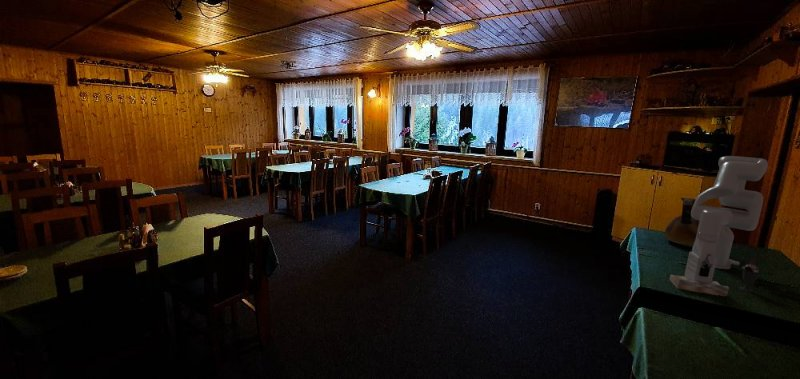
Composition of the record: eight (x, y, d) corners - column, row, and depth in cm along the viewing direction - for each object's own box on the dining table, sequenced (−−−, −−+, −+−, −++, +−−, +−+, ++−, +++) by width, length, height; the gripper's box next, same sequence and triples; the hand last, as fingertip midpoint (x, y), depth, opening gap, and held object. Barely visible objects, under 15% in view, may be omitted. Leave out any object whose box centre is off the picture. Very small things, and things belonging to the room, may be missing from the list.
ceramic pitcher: (704, 244, 216) (714, 198, 209) (702, 253, 201) (713, 204, 195) (665, 236, 229) (674, 193, 222) (661, 244, 214) (670, 198, 208)
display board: (715, 286, 160) (717, 277, 159) (726, 296, 151) (729, 287, 150) (669, 279, 166) (671, 270, 166) (677, 288, 157) (679, 279, 156)
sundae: (750, 287, 160) (758, 258, 157) (759, 294, 154) (768, 263, 151) (732, 285, 162) (740, 255, 159) (741, 291, 156) (749, 261, 153)
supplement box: (701, 277, 162) (707, 252, 159) (711, 284, 155) (717, 259, 152) (683, 275, 163) (689, 251, 161) (692, 282, 156) (698, 257, 154)
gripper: (689, 229, 164) (681, 263, 168) (705, 241, 148) (697, 278, 152) (708, 232, 161) (700, 266, 165) (727, 244, 145) (718, 282, 149)
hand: (699, 272), depth 158 cm, fingers closed on supplement box, 8 cm apart
